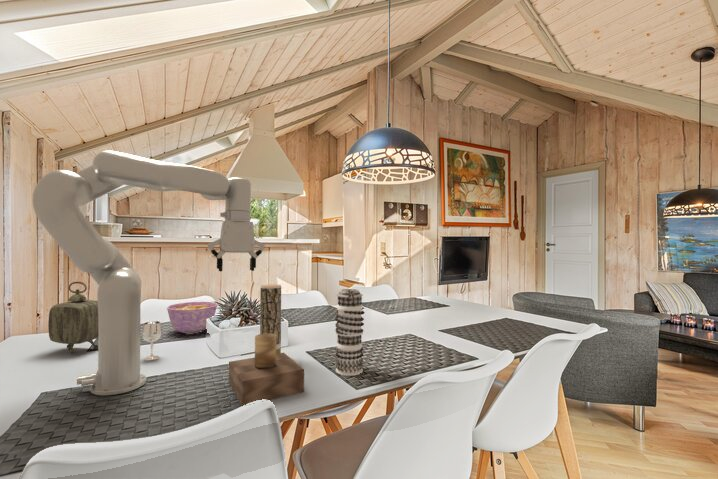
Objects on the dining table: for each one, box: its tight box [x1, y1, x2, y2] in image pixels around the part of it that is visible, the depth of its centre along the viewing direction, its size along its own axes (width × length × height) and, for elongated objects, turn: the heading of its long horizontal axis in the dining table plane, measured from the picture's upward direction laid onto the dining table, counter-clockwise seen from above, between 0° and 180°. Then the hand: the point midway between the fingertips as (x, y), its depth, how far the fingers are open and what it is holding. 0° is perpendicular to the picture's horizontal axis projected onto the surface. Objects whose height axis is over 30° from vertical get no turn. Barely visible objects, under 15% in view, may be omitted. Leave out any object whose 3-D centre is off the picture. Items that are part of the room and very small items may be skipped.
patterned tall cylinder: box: [334, 288, 365, 377], centre depth 109 cm, size 9×9×25 cm
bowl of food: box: [166, 301, 218, 333], centre depth 153 cm, size 20×20×12 cm
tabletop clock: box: [47, 281, 99, 354], centre depth 126 cm, size 14×9×25 cm, turn 84°
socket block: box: [228, 352, 305, 406], centre depth 96 cm, size 16×16×6 cm
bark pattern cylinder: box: [259, 283, 282, 354], centre depth 118 cm, size 7×7×25 cm
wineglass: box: [141, 320, 163, 361], centre depth 119 cm, size 6×6×12 cm
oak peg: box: [254, 333, 276, 370], centre depth 96 cm, size 6×6×14 cm
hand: (236, 270), depth 112 cm, fingers open, 9 cm apart
